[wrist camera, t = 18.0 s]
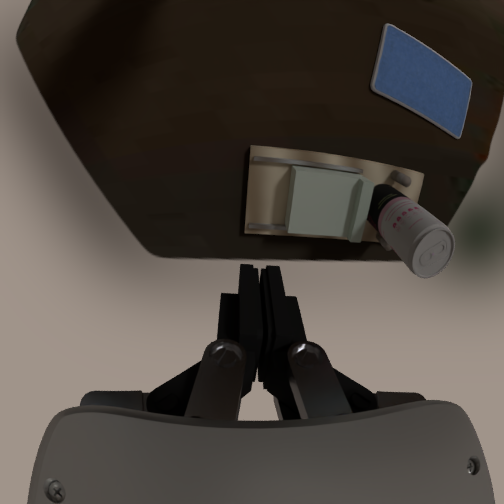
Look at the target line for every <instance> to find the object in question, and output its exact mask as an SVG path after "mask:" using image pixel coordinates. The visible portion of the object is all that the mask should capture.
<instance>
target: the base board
mask: <svg viewBox="0 0 504 504" xmlns="http://www.w3.org/2000/svg"><path fill="white" fill-rule="evenodd" d="M292 165H295V166H304V167H313V168H321V169H329V170H336V171H343V172H349V173H356V174H361V175H363V176H364V177H366V178H367V179H369V180H370V181H372V182H373V183H375V184H374V186H375V185H378V184H388V185H390V186H392V187H394V188H395V189H397V190H398V191H400V192H401V193H402V194H404V195H405V196H407V197H408V198H410V199H411V200H413V201H414V202H415V203H417V202H418V198H419V194H420V190H421V186H422V182H423V178H424V174H422V173H420V172H417V171H413V170H409V169H405V168H400V167H396V166H392V165H387V164H383V163H378V162H373V161H368V160H363V159H357V158H351V157H346V156H340V155H333V154H327V153H320V152H312V151H304V150H296V149H286V148H276V147H265V146H251V148H250V161H249V175H248V189H247V203H246V217H245V233H250V234H268V235H285V236H301V237H317V238H331V239H345V240H348V238H347V237H338V236H325V235H310V234H295V233H288V232H287V229H286V226H285V216H286V209H287V201H288V193H289V185H290V177H291V169H292ZM361 241H372V242H380V243H381V245H382V246H383V247H384V248H385V249H386V250H387V251H389V250H391V249H392V248H391V246H390V245H389V244H388V243H387V242H386V241H385V239H384V238H383V237H382V236H381V235H380V234H379V233H378V232H377V231H376V229H375V228H374V227H373V226H372V225H371V224H370V223H369V222H368V221H367V220H366V223H365V227H364V231H363V235H362V239H361Z"/></svg>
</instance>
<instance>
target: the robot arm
mask: <svg viewBox="0 0 504 504" xmlns="http://www.w3.org/2000/svg"><path fill="white" fill-rule="evenodd" d="M257 367H258V381H259V382H263V387H264V389H267V391H268V392H269V393H271V394H272V395H273V396H274V403H275V407H276V411H277V414H278V418H279V420H278V421H238V415H239V409H240V403H241V398H243V397H244V396H245V395H246V394H247V393H249V392H250V391H251V387H252V382H255V378H256V372H257ZM27 504H495V500H494V493H493V488H492V483H491V478H490V475H489V470H488V467H487V463H486V460H485V457H484V453H483V450H482V447H481V444H480V441H479V439H478V436H477V434H476V431H475V429H474V427H473V425H472V423H471V421H470V419H469V417H468V415H467V414H466V413H465V411H464V410H463V409H462V408H461V407H460V406H458V405H457V404H454V403H451V402H447V401H440V400H426V399H425V398H424V397H423V396H422V395H420V394H419V393H409V392H408V393H406V392H380V391H377V393H376V394H375V393H372V392H371V391H369V390H368V389H367V388H365V387H363V386H362V385H360V384H358V383H357V382H355V381H353V380H351V379H350V378H349V377H347V376H345V375H344V374H342V373H340V372H339V371H337V370H336V369H334V368H333V367H332V365H331V363H330V361H329V359H328V357H327V355H326V353H325V351H324V350H323V348H322V347H320V346H319V345H318V344H315V343H314V342H310V341H307V339H306V335H305V331H304V326H303V322H302V318H301V313H300V309H299V305H298V301H297V298H296V297H295V296H285V291H284V286H283V281H282V276H281V271H280V267H279V266H266V269H261V275H260V283H259V275H258V269H257V268H253V265H250V264H241V265H240V275H239V289H238V294H230V293H221V300H220V311H219V322H218V334H217V340H216V341H214V342H211V343H210V344H209V345H208V346H207V347H206V349H205V351H204V354H203V357H202V360H201V361H200V362H198V363H196V364H195V365H193V366H192V367H190V368H189V369H187V370H186V371H184V372H182V373H181V374H179V375H177V376H176V377H174V378H172V379H171V380H169V381H167V382H166V383H164V384H162V385H161V386H159V387H157V388H156V389H154V390H153V391H152V392H150V393H142V391H91V392H89V393H87V394H85V395H84V397H83V398H82V399H81V403H80V406H78V407H72V408H69V409H65V410H63V411H61V412H59V413H58V414H57V415H55V416H54V418H53V419H52V420H51V422H50V423H49V425H48V427H47V429H46V431H45V433H44V436H43V438H42V441H41V444H40V446H39V449H38V453H37V457H36V460H35V463H34V467H33V472H32V477H31V483H30V488H29V495H28V502H27Z"/></svg>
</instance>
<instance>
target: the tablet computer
mask: <svg viewBox="0 0 504 504" xmlns="http://www.w3.org/2000/svg"><path fill="white" fill-rule="evenodd" d="M370 87H371V89H372V90H373V91H374V92H375V93H377V94H380V95H382V96H384V97H386V98H388V99H390V100H392V101H394V102H396V103H398V104H400V105H402V106H404V107H405V108H407V109H409V110H411V111H413V112H414V113H416V114H418V115H420V116H421V117H423V118H425V119H426V120H428V121H430V122H431V123H433V124H435V125H436V126H437V127H439V128H441V129H442V130H444V131H445V132H447V133H448V134H450V135H451V136H453V137H454V138H456V139H459V138H460V137H461V134H462V130H463V126H464V122H465V118H466V113H467V109H468V104H469V99H470V94H471V88H472V81H471V79H470V78H469V77H467V76H466V75H465V74H464V73H463V72H461V71H460V70H459V69H458V68H456V67H455V66H454V65H453V64H451V63H450V62H449V61H447V60H446V59H445V58H443V57H442V56H440V55H439V54H438V53H436V52H435V51H433V50H432V49H431V48H429V47H428V46H426V45H425V44H423V43H422V42H420V41H418V40H417V39H415V38H414V37H412V36H410V35H409V34H407V33H405V32H404V31H402V30H400V29H398V28H397V27H395V26H393V25H391V24H385V25H384V26H383V30H382V35H381V40H380V44H379V49H378V53H377V58H376V62H375V66H374V70H373V75H372V79H371V83H370Z"/></svg>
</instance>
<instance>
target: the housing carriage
mask: <svg viewBox="0 0 504 504" xmlns="http://www.w3.org/2000/svg"><path fill="white" fill-rule="evenodd" d="M374 184H375V183H373V182H372V181H370V180H369V179H367V178H366V177H364V176H363V175H361V174H356V173H349V172H343V171H336V170H329V169H321V168H313V167H304V166H295V165H292V169H291V177H290V185H289V193H288V201H287V209H286V216H285V226H286V229H287V232H288V233H295V234H310V235H325V236H338V237H347V238H348V240H349V241H350V242H359V243H360V242H361V239H362V235H363V231H364V227H365V223H366V219H367V215H368V211H369V207H370V202H371V198H372V193H373V189H374Z"/></svg>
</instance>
